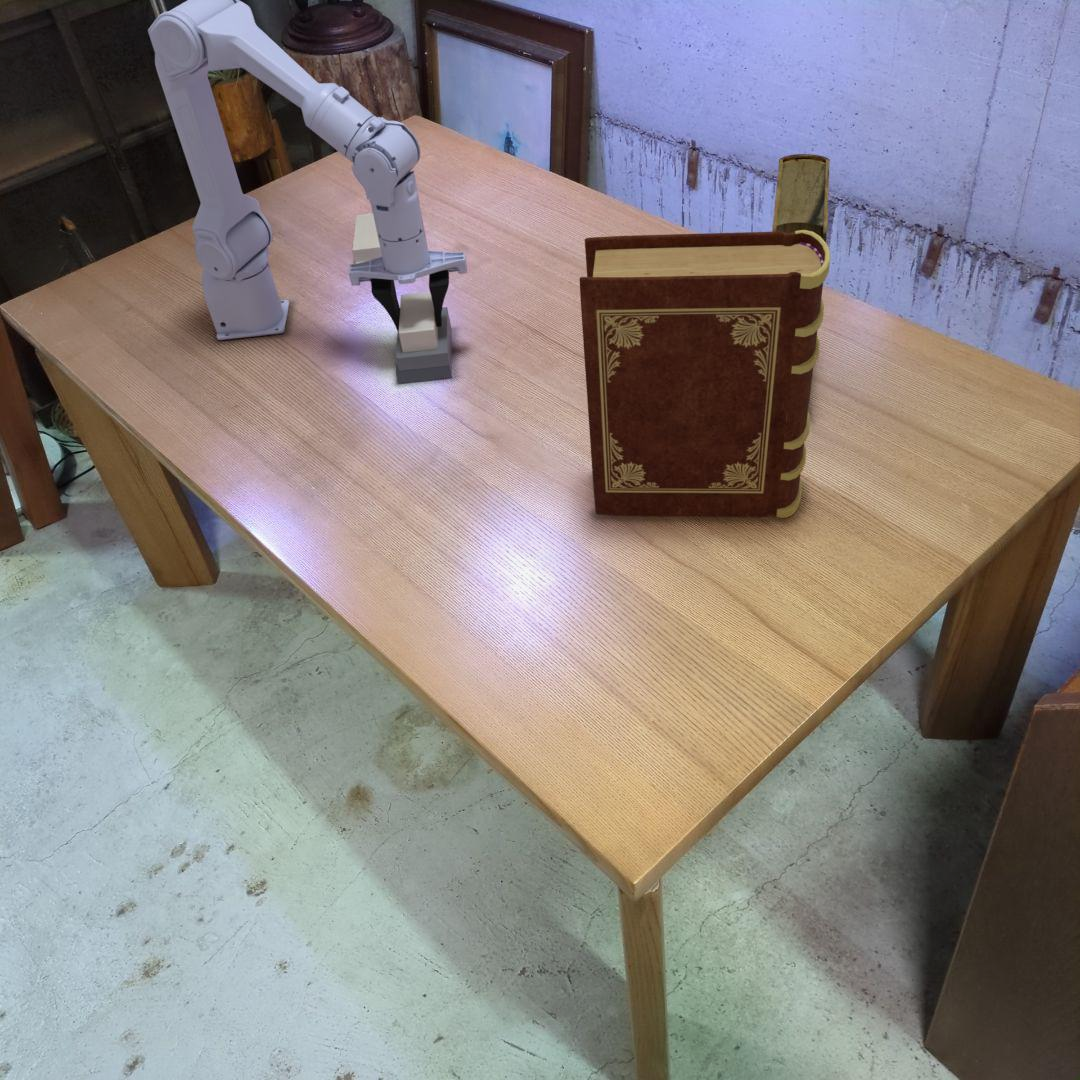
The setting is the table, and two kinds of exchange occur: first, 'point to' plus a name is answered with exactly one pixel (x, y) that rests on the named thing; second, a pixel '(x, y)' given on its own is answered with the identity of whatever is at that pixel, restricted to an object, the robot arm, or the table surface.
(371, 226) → the cream stack
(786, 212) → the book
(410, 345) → the cream rectangular block
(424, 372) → the grey stack
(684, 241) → the decorative book
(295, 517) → the table surface
